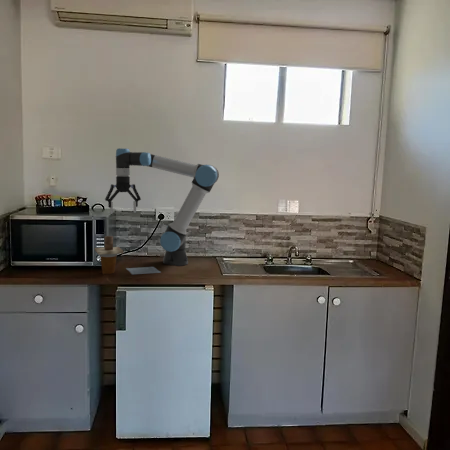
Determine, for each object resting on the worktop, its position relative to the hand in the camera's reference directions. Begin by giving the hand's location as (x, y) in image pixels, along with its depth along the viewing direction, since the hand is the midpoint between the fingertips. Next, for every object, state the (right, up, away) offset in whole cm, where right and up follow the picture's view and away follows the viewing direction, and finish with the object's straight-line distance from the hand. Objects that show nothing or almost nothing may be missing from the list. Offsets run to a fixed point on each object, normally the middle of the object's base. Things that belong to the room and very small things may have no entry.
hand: (123, 213), depth 270 cm
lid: (-4, -21, -17) cm, 28 cm away
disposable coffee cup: (-5, -33, -15) cm, 37 cm away
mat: (+13, -33, -8) cm, 36 cm away
